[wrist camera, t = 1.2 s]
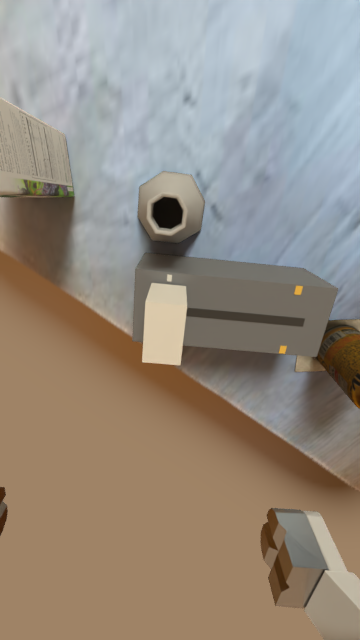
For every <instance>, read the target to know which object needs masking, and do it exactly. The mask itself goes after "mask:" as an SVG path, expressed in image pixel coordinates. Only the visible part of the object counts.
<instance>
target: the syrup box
mask: <svg viewBox="0 0 360 640" xmlns="http://www.w3.org/2000/svg"><path fill="white" fill-rule="evenodd" d="M73 196H74V192H73V186H72V179H71V172H70V165H69V158H68V152H67V145H66V138H65V134H64V133H62V132H60V131H59V130H57V129H55V128H53V127H52V126H50V125H48V124H46V123H45V122H43V121H41V120H39V119H38V118H36V117H34V116H32V115H31V114H29V113H27V112H25V111H23V110H22V109H20V108H18V107H17V106H15V105H13V104H11V103H10V102H8V101H6V100H4V99H3V98H1V97H0V197H73Z"/></svg>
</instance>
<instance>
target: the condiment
mask: <svg viewBox="0 0 360 640" xmlns="http://www.w3.org/2000/svg"><path fill="white" fill-rule="evenodd" d="M304 371H309V372H311V371H327V372H328V373H329V374H330V376H331V377H332V378H333V379H334V380H335V381H336V382H337V384H338V385H339V386H340V387H341V388H342V390H343V391H344V392H345V393H346V395H347V396H348V397H349V398H350V399H351V400H352V402H353V403H354V404H355V405H356V406H357V407H358V408H359V409H360V319H355V320H332V321H329V320H328V323H327V326H326V330H325V332H324V335H323V338H322V342H321V345H320V348H319V351H318V354H317V357H315V359H314V357H310V356H299V355H297V360H296V368H295V372H304Z"/></svg>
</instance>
